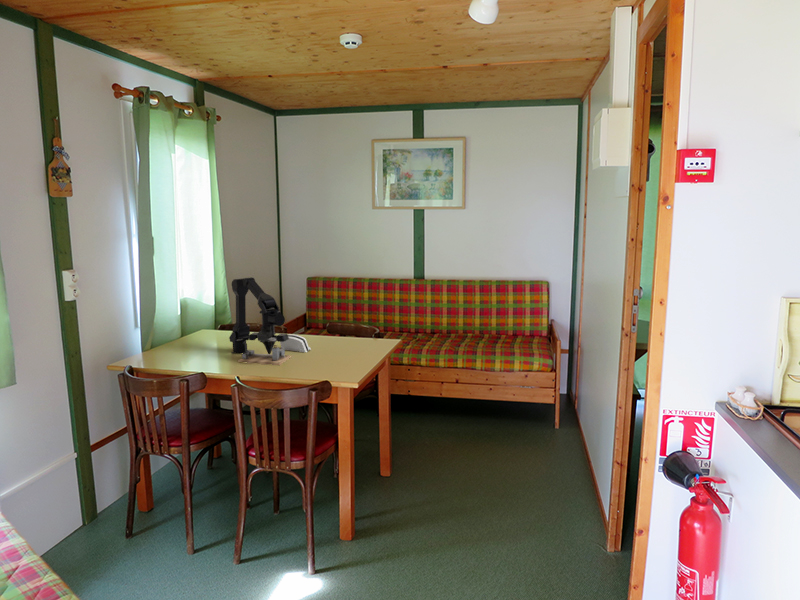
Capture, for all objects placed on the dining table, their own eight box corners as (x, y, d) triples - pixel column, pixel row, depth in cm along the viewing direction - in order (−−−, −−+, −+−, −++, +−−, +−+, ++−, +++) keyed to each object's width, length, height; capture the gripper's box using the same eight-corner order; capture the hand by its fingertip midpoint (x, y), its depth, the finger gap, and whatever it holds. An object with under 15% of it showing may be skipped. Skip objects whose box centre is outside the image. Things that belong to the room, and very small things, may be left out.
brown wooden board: (237, 362, 278) (237, 359, 278) (251, 355, 292) (251, 352, 291) (279, 365, 274) (279, 362, 273) (290, 357, 287) (290, 355, 287)
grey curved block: (311, 350, 302) (307, 334, 298) (306, 355, 298) (302, 339, 294) (286, 347, 310) (282, 331, 305) (281, 351, 306) (277, 336, 301)
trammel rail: (241, 358, 281) (241, 353, 280) (249, 354, 288) (248, 349, 288) (279, 361, 276) (279, 356, 276) (286, 356, 284) (286, 351, 284)
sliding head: (271, 360, 277) (270, 345, 276) (278, 355, 285) (277, 342, 284) (278, 360, 276) (277, 346, 275) (285, 356, 284) (284, 342, 283)
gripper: (242, 325, 270) (244, 357, 273) (278, 327, 266) (280, 359, 269) (253, 321, 281) (254, 351, 284) (288, 322, 277) (289, 353, 280)
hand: (269, 353), depth 279 cm, fingers closed
